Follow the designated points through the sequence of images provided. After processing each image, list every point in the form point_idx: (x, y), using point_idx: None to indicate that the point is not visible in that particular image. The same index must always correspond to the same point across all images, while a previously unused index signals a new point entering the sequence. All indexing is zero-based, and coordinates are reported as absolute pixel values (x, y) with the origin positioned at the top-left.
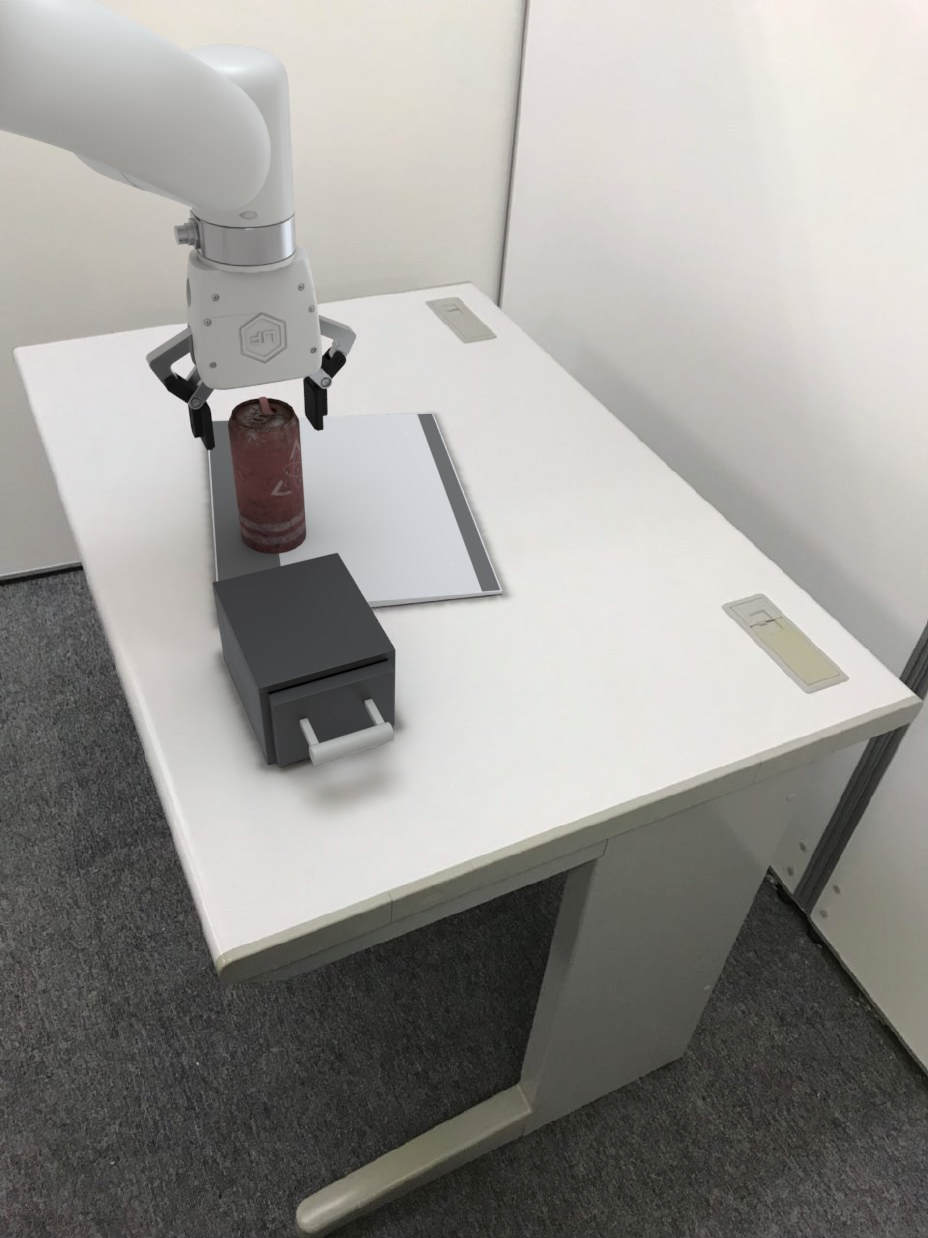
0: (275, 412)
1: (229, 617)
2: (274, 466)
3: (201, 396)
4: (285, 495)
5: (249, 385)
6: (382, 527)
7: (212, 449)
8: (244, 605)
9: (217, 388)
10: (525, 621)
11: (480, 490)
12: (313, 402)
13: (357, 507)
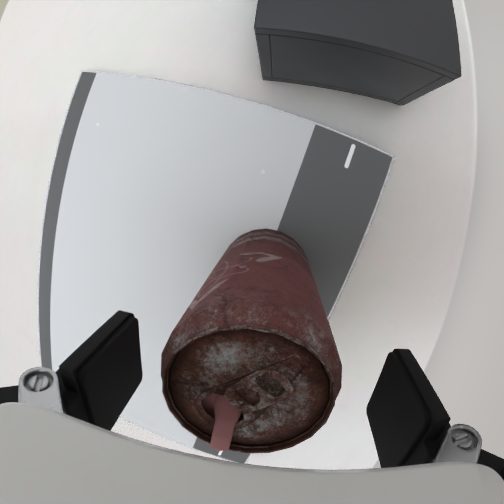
0: (206, 403)
1: (452, 9)
2: (269, 275)
3: (457, 453)
4: (254, 252)
5: (342, 471)
6: (131, 222)
7: (395, 349)
8: (432, 11)
9: (467, 462)
10: (91, 32)
11: (30, 243)
12: (102, 362)
13: (143, 274)
